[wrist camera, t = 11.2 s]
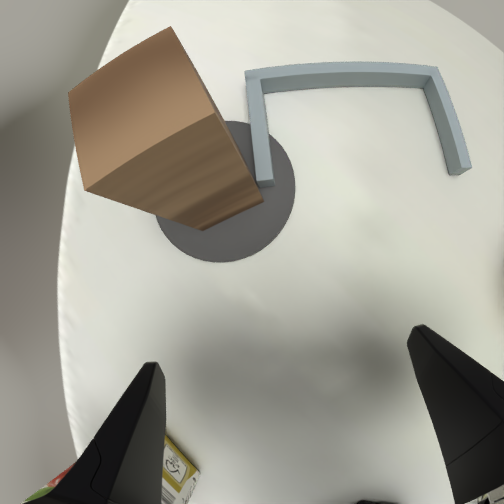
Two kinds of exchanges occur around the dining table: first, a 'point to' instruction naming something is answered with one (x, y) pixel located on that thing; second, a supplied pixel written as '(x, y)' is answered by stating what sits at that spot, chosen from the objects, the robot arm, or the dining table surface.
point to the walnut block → (159, 138)
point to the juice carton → (173, 479)
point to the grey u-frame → (350, 77)
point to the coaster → (247, 222)
